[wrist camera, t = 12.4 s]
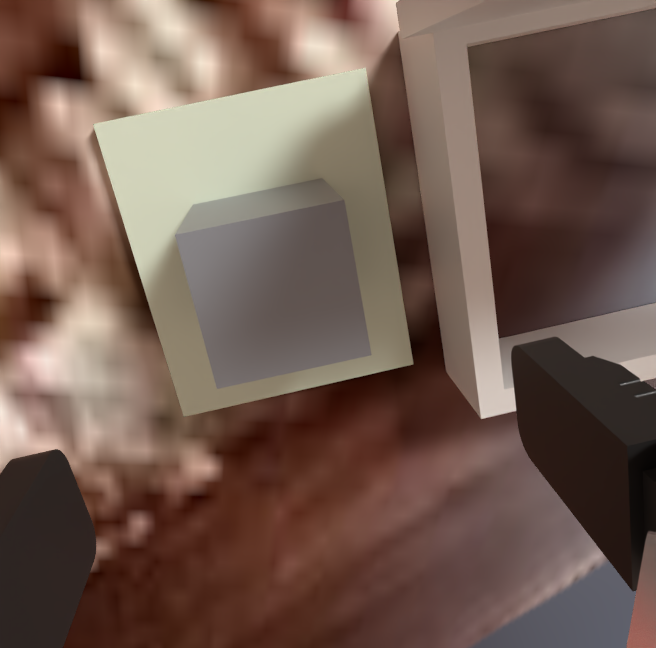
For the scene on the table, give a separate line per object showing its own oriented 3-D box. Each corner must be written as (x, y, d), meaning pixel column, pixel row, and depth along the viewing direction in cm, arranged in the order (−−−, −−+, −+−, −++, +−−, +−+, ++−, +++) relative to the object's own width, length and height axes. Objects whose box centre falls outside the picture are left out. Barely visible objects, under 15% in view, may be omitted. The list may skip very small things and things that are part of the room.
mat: (362, 68, 23) (365, 68, 23) (410, 359, 27) (413, 364, 27) (96, 123, 23) (92, 124, 22) (185, 410, 27) (183, 416, 26)
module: (322, 178, 24) (344, 199, 18) (344, 300, 26) (371, 355, 20) (192, 204, 24) (174, 234, 18) (224, 326, 25) (217, 388, 20)
